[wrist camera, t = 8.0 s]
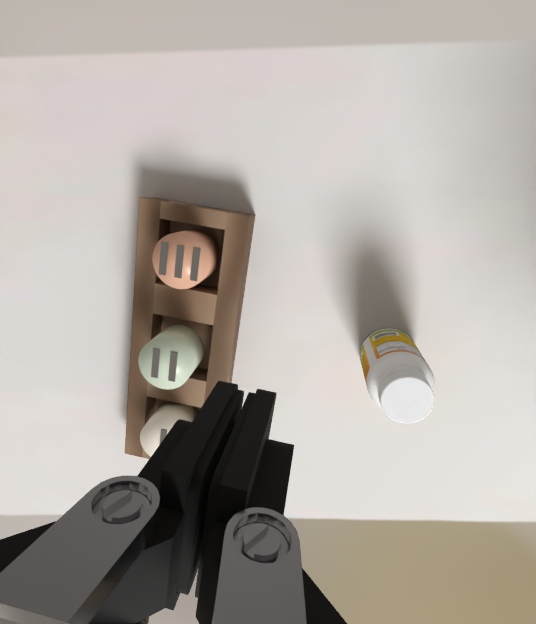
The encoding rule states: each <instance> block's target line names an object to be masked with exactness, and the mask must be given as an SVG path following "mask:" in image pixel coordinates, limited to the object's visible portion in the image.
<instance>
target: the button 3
mask: <svg viewBox="0 0 536 624" xmlns="http://www.w3.org/2000/svg"><path fill="white" fill-rule="evenodd" d="M218 261H219V252H218V248H217V245H216V243H215V242H214V240H213V239H212V238H211V237H210V236H209V235H208V234H206V233H205V232H203V231H200V230H196V229H189V230H184V231H180V232H176V233H172V234H169V235H166V236H164V237H163V238H162V239H161V240H159V242H158V243H157V244H156V246H155V248H154V251H153V266H154V269H155V272H156V274H157V275H158V277H159V278H160V279H161V280H162V281H163V282H164V283H165V284H167V285H168V286H170V287H173V288H176V289H188V288H191V287H193V286H195V285H197V284H198V283H200V282H201V281H203V280H204V279H206V278H207V277H208V276H210V275H211V274H212V273H213V272H214V271H215V269H216V267H217V265H218Z"/></svg>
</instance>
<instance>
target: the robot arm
mask: <svg viewBox="0 0 536 624" xmlns="http://www.w3.org/2000/svg"><path fill="white" fill-rule="evenodd" d="M243 396H244V391H241V390H238V385H237V384H233V383H228V382H223V381H218V382H217V383H216V385H215V387H214V388H213V390H212V391H211V393H210V395H209V396H208V398H207V399H206V401H205V402H204V404H203V406H202V407H201V409H200V410H199V412H198V414H197V415H196V417H195V418H194V420H193V421H192V422H190V421H186V420H181V419H179V420H177V421H176V422H175V424H174V425H173V427H172V428H171V429H170V431H169V432H168V434H167V435H166V437H165V438H164V439H163V441H162V442H161V444H160V445H159V446H158V448H157V449H156V451H155V452H154V454H153V455H152V456H151V458H150V459H149V461H148V462H147V463H146V465H145V466H144V468H143V469H142V471H141V472H140V473H139V475H138V476H119V477H114V478H110V479H108V480H106V481H103V482H101V483H100V484H98V485H97V486H95V487H94V488H93V489H91V490H90V491H89V492H88V493H87V494H86V495H85V496H84V497H83V498H82V499H80V500H79V501H78V502H77V503H76V504H75V505H74V506H73V507H72V508H71V509H69V510H68V511H67V512H66V513H65V514H64V515H63V516H62V517H61V518H60V519H59V520H57V521H56V522H52V523H50V524H47V525H43V526H40V527H37V528H35V529H31V530H28V531H25V532H22V533H19V534H16V535H13V536H10V537H7V538H4V539H1V540H0V624H148V622H149V616H151V615H153V614H154V613H156V612H158V611H160V610H162V609H164V608H168V609H171V610H174V607H175V605H176V602H177V600H178V597H179V595H180V593H183V594H187V595H188V594H189V592H190V589H191V587H192V584H193V581H194V578H195V575H196V573H197V570H198V567H199V570H198V576H197V585H196V591H195V597H197V598H198V604H197V610H196V618H197V620H198V622H199V624H347V623H346V622H345V621H344V619H343V618H342V617H341V616H340V614H339V613H338V612H337V611H336V609H335V608H334V607H333V606H332V604H331V603H330V602H329V601H328V599H327V598H326V597H325V596H324V595H323V593H322V592H321V591H320V589H319V588H318V587H317V586H316V585H315V583H314V582H313V581H312V580H311V578H310V577H309V576H308V575H307V573H306V572H305V571H304V570H303V568H302V564H301V551H300V541H299V537H298V533H297V530H296V529H295V527H294V526H293V524H292V523H291V522H290V521H289V520H288V519H287V518H286V517H285V516H284V508H285V502H286V495H287V488H288V482H289V475H290V469H291V462H292V456H293V449H294V445H292V444H287V443H283V442H278V441H274V440H270V439H269V433H270V427H271V422H272V416H273V411H274V405H275V399H276V393H275V392H270V391H265V390H261V389H257V391H256V394H255V393H250V392H249V394H248V396H247V398H246V400H245V403H244V405H243V407H242V402H243ZM241 409H242V410H241Z"/></svg>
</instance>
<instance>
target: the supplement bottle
mask: <svg viewBox="0 0 536 624" xmlns="http://www.w3.org/2000/svg"><path fill="white" fill-rule="evenodd" d="M360 360H361V364H362V368H363V372H364V377H365V381H366V385H367V389H368V392H369V394H370V397H371V398H372V400H373V401H374V402H375V403H376V404H377V405H378V406H379V407H381V408H382V410H383V411H384V413H385V414H386V415H387V416H388V417H389V418H390V419H392V420H394V421H396V422H399V423H414V422H418V421H420V420H422V419H424V418H425V417H426V416H427V415H428V414H429V413H430V412H431V410H432V408H433V406H434V393H433V391H434V385H435V381H434V376H433V373H432V371H431V369H430V367H429V365H428V364H427V362H426V361H425V359H424V358H423V356H422V355H421V353H420V351H419V350H418V348H417V347H416V345H415V344H414V342H413V341H412V340H411V338H410V337H409V336H408V335H407V334H405V333H404V332H402V331H399V330H396V329H381V330H378V331H375V332H373V333H372V334H370V335H369V336H368V337H367V338H366V339H365V341H364V342H363V344H362V347H361V350H360Z"/></svg>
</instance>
